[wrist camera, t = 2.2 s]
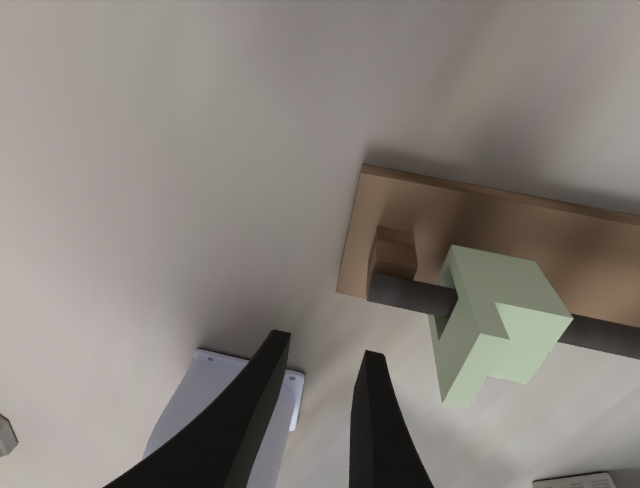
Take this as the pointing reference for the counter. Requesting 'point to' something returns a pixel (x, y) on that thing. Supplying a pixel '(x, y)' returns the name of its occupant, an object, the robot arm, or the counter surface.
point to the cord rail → (493, 251)
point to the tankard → (6, 437)
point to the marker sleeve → (493, 322)
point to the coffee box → (578, 482)
